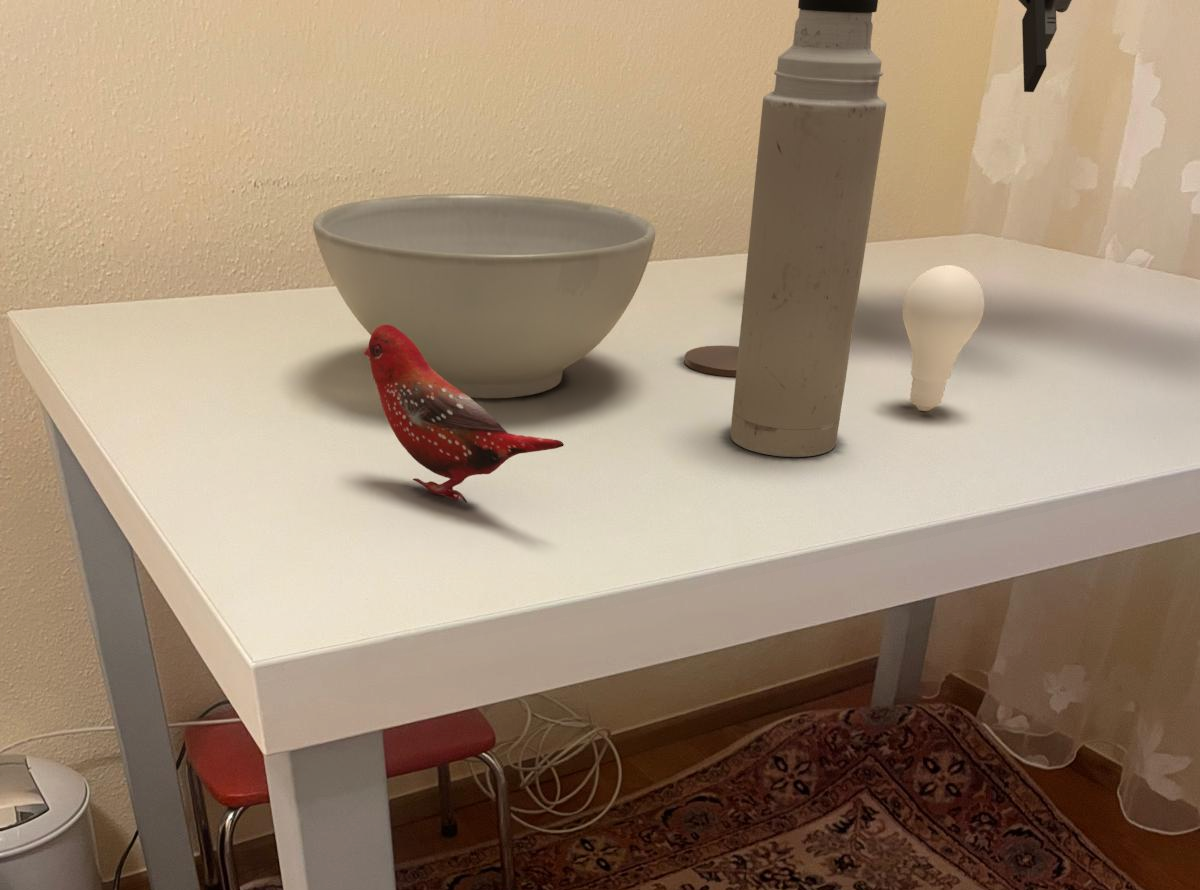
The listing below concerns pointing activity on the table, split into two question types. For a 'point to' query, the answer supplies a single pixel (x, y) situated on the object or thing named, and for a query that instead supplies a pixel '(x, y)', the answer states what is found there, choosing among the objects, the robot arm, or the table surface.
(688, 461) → the table surface
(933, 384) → the lightbulb
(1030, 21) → the robot arm
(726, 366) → the walnut coaster
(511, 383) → the decorative bowl
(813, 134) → the thermos bottle
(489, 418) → the decorative bird figurine
